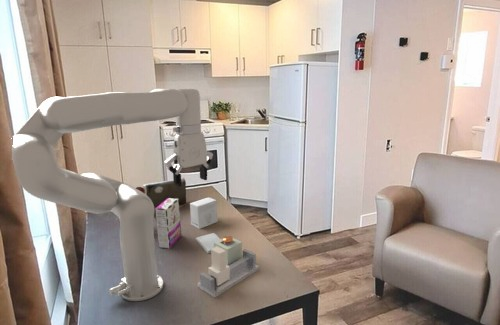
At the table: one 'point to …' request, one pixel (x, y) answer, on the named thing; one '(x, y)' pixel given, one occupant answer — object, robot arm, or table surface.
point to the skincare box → (203, 212)
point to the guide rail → (237, 274)
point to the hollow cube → (231, 250)
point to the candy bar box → (168, 222)
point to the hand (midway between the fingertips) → (191, 182)
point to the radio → (166, 192)
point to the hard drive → (207, 241)
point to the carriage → (219, 266)
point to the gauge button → (227, 240)
